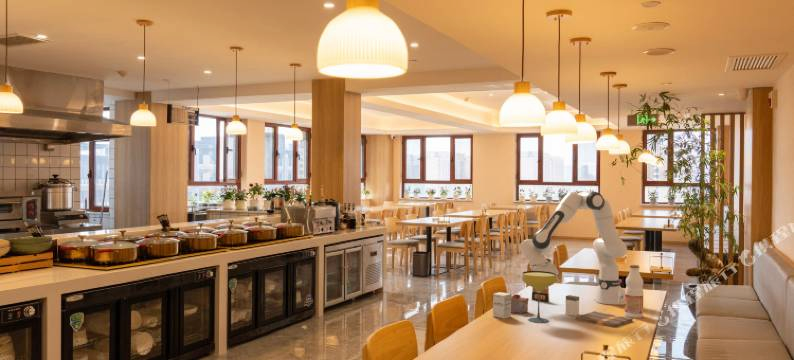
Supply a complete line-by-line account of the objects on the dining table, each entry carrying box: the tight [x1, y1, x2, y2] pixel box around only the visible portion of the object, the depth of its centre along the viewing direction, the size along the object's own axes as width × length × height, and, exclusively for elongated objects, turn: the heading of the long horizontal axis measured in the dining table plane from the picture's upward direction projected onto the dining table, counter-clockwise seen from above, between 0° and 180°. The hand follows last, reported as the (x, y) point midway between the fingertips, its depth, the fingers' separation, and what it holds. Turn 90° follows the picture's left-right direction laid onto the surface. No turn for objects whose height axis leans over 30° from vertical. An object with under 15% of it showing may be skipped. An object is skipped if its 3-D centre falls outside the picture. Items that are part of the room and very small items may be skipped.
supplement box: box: [492, 291, 512, 320], centre depth 337 cm, size 7×7×13 cm
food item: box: [511, 294, 529, 314], centre depth 349 cm, size 14×8×10 cm, turn 64°
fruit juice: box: [624, 264, 644, 319], centre depth 342 cm, size 9×9×28 cm
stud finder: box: [565, 294, 580, 317], centre depth 345 cm, size 4×6×10 cm, turn 44°
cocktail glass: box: [521, 270, 558, 324], centre depth 329 cm, size 18×18×25 cm
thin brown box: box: [531, 287, 550, 303], centre depth 380 cm, size 11×2×12 cm, turn 53°
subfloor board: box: [575, 310, 633, 328], centre depth 331 cm, size 20×22×2 cm
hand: (553, 283), depth 354 cm, fingers open, 8 cm apart
